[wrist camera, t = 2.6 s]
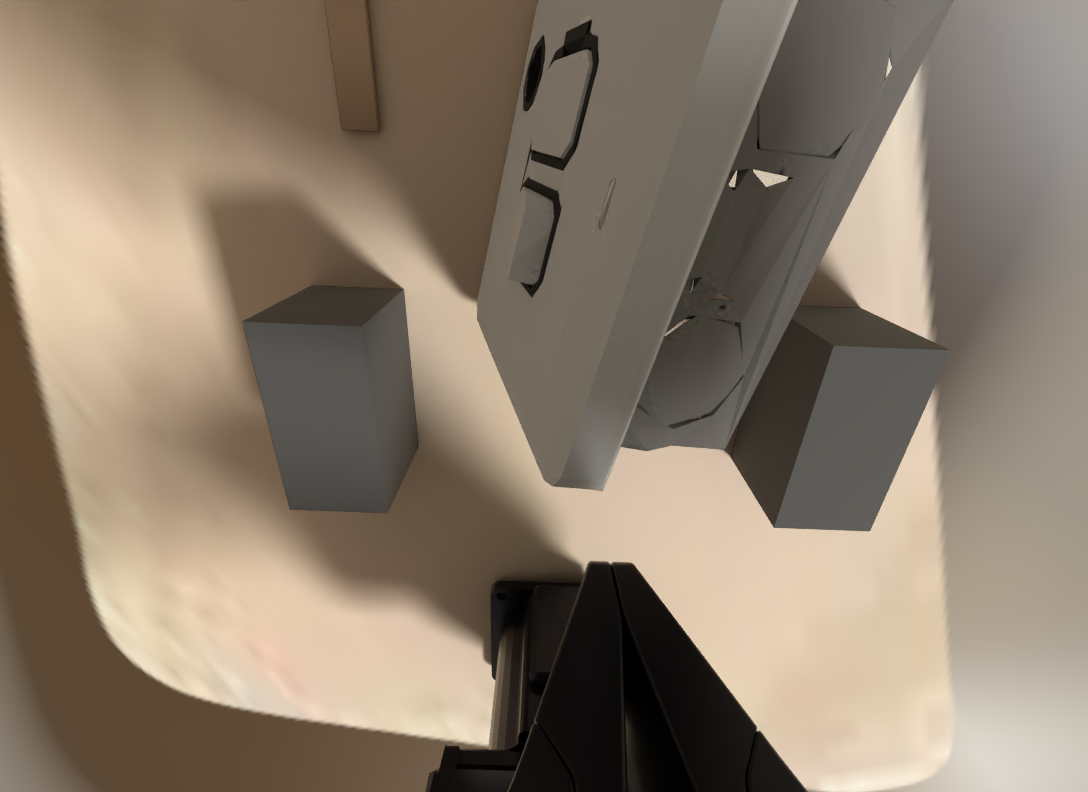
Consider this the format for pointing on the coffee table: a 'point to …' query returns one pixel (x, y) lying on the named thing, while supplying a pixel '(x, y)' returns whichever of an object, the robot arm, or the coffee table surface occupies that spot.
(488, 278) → the electrical switch
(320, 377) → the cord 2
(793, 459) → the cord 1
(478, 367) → the coffee table surface
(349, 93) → the bay
